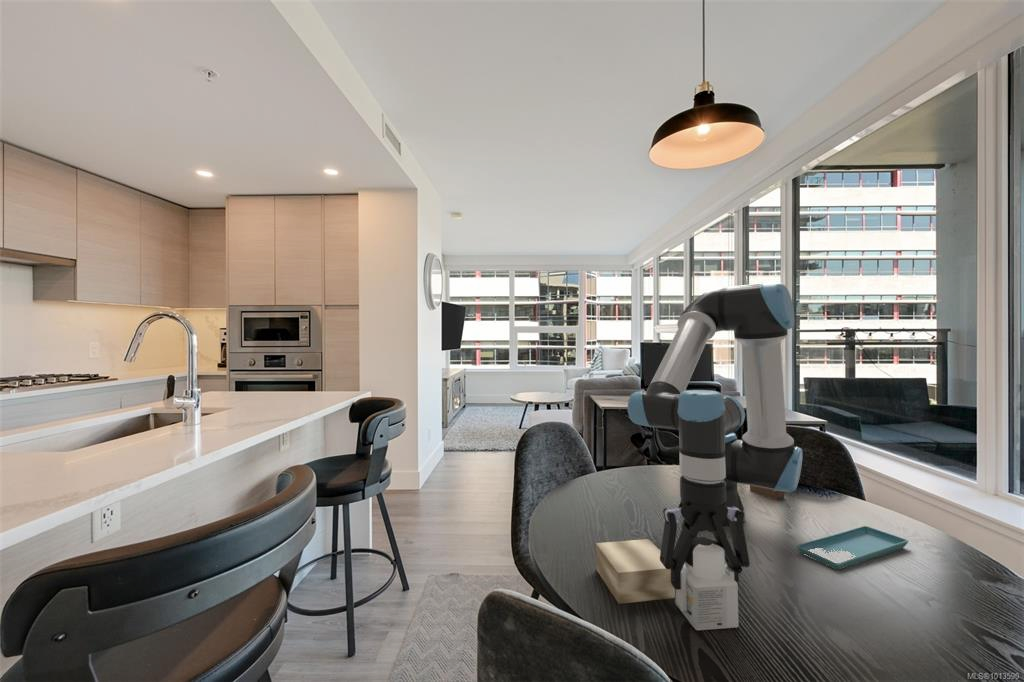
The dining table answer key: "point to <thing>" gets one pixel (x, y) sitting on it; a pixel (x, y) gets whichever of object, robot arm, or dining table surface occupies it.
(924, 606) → the dining table surface
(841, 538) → the teal serving tray
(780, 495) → the wooden block
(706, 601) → the container
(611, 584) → the maple block
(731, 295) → the robot arm
